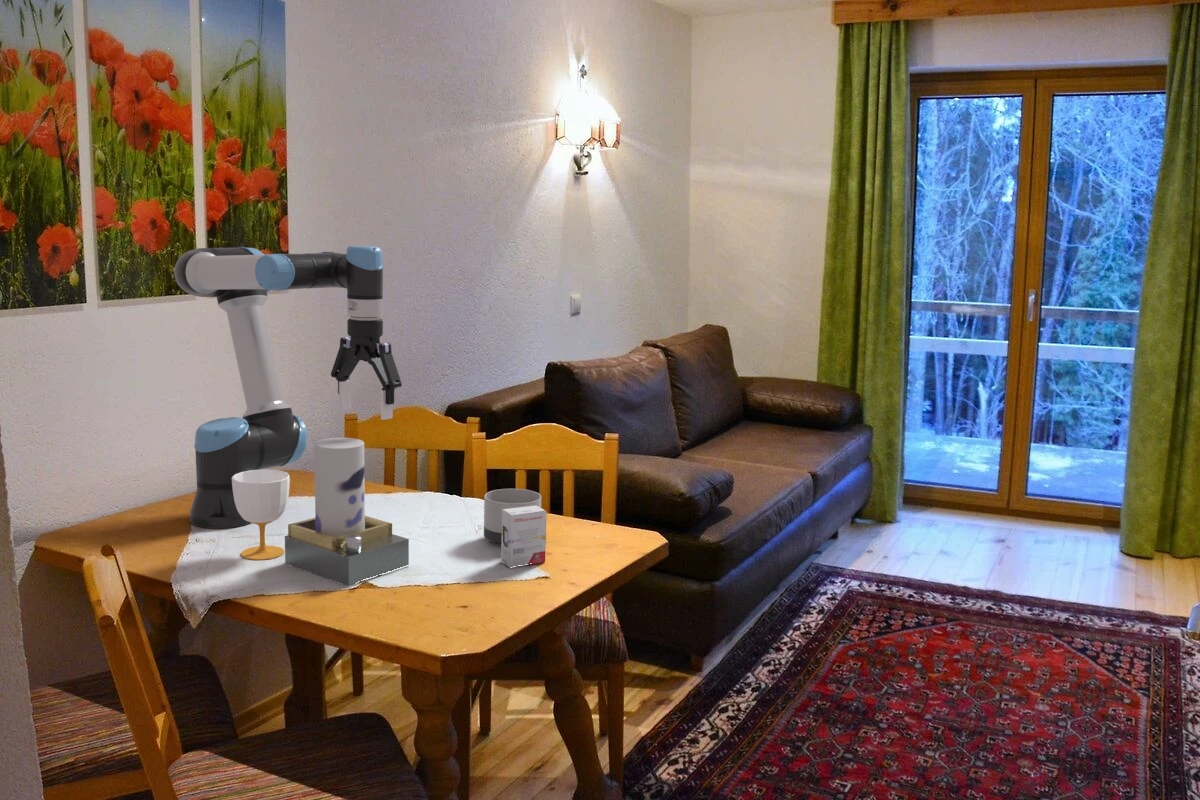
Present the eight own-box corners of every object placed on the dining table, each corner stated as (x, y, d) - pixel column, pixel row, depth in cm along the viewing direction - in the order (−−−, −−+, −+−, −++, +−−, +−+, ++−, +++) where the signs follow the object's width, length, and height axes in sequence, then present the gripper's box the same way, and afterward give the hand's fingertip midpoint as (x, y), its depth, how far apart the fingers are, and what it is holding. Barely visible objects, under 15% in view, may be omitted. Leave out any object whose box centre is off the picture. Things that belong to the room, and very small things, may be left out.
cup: (264, 541, 243) (262, 466, 240) (302, 551, 237) (301, 474, 234) (221, 555, 233) (219, 477, 230) (260, 566, 227) (258, 486, 224)
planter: (551, 538, 252) (552, 494, 250) (519, 553, 241) (520, 507, 239) (505, 528, 258) (506, 485, 256) (472, 542, 247) (472, 497, 245)
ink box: (536, 556, 239) (537, 504, 237) (546, 563, 234) (547, 510, 232) (499, 561, 234) (500, 508, 232) (509, 569, 230) (510, 514, 228)
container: (352, 544, 224) (351, 449, 220) (307, 540, 225) (305, 445, 222) (372, 530, 233) (371, 438, 229) (328, 526, 235) (327, 435, 231)
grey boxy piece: (285, 563, 229) (284, 522, 227) (345, 546, 241) (345, 506, 240) (348, 586, 217) (348, 542, 215) (408, 566, 230) (408, 525, 228)
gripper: (313, 314, 241) (315, 408, 245) (391, 324, 227) (391, 425, 231) (340, 311, 247) (341, 404, 251) (418, 322, 233) (418, 420, 237)
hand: (365, 414), depth 241 cm, fingers open, 13 cm apart
